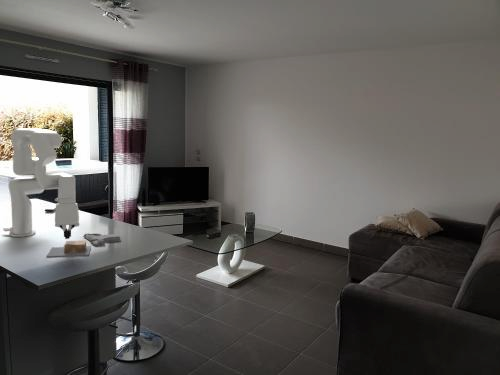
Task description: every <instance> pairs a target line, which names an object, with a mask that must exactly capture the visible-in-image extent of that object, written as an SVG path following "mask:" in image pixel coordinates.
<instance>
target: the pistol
mask: <svg viewBox="0 0 500 375" xmlns="http://www.w3.org/2000/svg"><path fill="white" fill-rule="evenodd" d="M82 237H83V238H85V239H87V240H88V241H89V242H90V244H91V245H94V246H96V247H102V246H105V244H106V243H114V242H120V241H121V237H120V234H119V233H114V234H113V233H112V234H101V233H84V234H83V236H82Z"/></svg>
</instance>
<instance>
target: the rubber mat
mask: <svg viewBox="0 0 500 375" xmlns="http://www.w3.org/2000/svg"><path fill="white" fill-rule="evenodd" d="M91 250H92V246H91V245H86V250H85V252H80V253H64V246H56V247H51V248H50V250H49V252H48V253H47V254H46V258H64V257H65V258H66V257H87V256H89V255H90V252H91Z"/></svg>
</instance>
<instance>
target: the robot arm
mask: <svg viewBox="0 0 500 375" xmlns="http://www.w3.org/2000/svg"><path fill="white" fill-rule="evenodd" d="M10 140H11V145H12V148H13V149H12V150H13V157H12V171H13V173H14V174H15V175H16V176H19V177H14V178H12V179H11V180H9V182H8V189H9V195H10V204H11V206H10V207H11V226H10V227H9V226H8V227H6V226H4V227H3V231H4V232H8V236H10V237H11V238H12V237H14V238H23V237H25V238H26V237H29V236H33V235H35V234H36V230H34V229H33V212H32V211H33V209H32V205H33V204H32V201H31V199H30V198H29V197H28V196H29V195H36V194H42V193H43V192H44V191H45V190H57V197H56V198H54V201H55V202H57V203H56V205H55V213H54V226H55V228H60V229H61V230H62V231H63V237H64V239H65V240H70V238H71V237H72V230H73V229H74V228H76V227H80V212H79V206H78V203H77V202H76V194H77V193H76V177H75V175H73V174H68V173H65V172H55V173H54V172H52V173H47V165H50V164H51V163H53V162H54V161H56V159H57V157H58V156H57V153H56V150H55V149H57V148H60V147H61V146H62V143H63V141H62V137H61V135H60V134H59V133H58V132H56V131H53V130H49V129H44V128H43V129H42V128H28V127H27V128H26V127H25V128H16V129H15V128H14V129H13V130H12V132H11V135H10ZM31 146H32V148H31ZM32 149H33V150H32ZM33 151H34V154H35V155H36V157H33ZM20 176H21V177H20ZM23 176H24V177H23ZM27 195H28V196H27ZM67 226H68V228H67Z"/></svg>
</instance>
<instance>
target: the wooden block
mask: <svg viewBox="0 0 500 375" xmlns="http://www.w3.org/2000/svg"><path fill="white" fill-rule="evenodd" d="M86 246H87V240H86V239H85V240H66V241H65V243H64V245H63V247H64V253H80V252H85V250H86Z"/></svg>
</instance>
